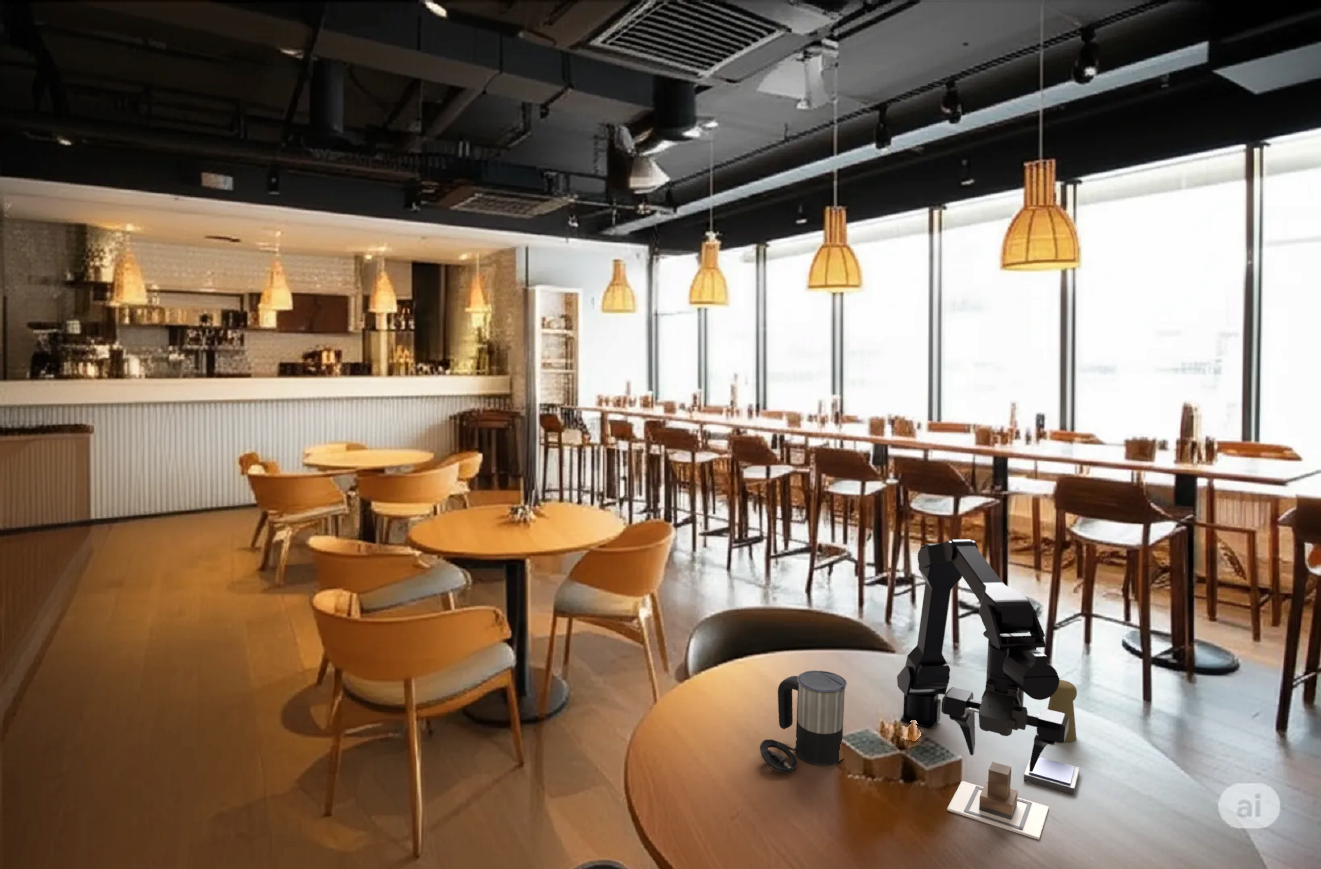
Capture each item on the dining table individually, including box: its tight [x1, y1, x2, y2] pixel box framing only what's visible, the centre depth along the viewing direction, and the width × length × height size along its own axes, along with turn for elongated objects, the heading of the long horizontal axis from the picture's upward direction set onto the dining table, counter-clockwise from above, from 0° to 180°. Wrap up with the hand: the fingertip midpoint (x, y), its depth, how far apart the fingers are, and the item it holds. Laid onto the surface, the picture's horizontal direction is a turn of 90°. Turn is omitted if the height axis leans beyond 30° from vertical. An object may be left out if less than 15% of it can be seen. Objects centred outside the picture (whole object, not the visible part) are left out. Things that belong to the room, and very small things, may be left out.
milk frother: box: [759, 670, 848, 774], centre depth 146 cm, size 14×16×15 cm
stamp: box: [979, 761, 1019, 820], centre depth 130 cm, size 5×5×7 cm
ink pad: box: [1023, 756, 1080, 796], centre depth 140 cm, size 8×8×2 cm
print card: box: [947, 780, 1050, 841], centre depth 131 cm, size 14×10×1 cm
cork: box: [1047, 679, 1078, 743], centre depth 155 cm, size 6×6×11 cm
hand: (1001, 762), depth 129 cm, fingers open, 9 cm apart
